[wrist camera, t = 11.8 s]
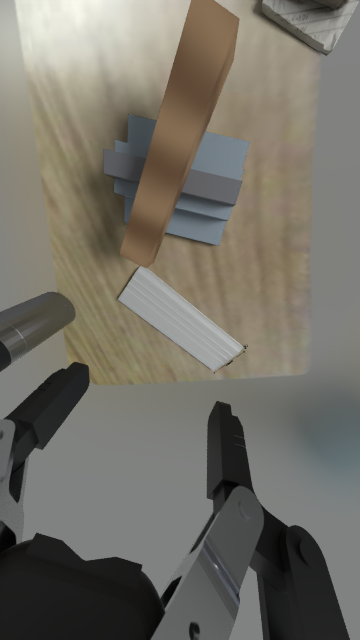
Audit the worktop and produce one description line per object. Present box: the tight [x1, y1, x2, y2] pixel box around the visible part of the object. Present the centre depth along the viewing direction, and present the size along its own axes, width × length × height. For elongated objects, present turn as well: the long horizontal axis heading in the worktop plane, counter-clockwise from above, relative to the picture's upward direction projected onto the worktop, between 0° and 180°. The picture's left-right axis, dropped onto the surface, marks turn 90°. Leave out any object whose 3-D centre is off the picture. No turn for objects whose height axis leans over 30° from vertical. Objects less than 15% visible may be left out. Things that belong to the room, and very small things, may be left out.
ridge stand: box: [103, 114, 250, 245], centre depth 26 cm, size 14×18×9 cm
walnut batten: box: [119, 0, 239, 268], centre depth 21 cm, size 22×4×4 cm, turn 154°
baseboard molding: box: [118, 266, 248, 373], centre depth 42 cm, size 31×3×12 cm
